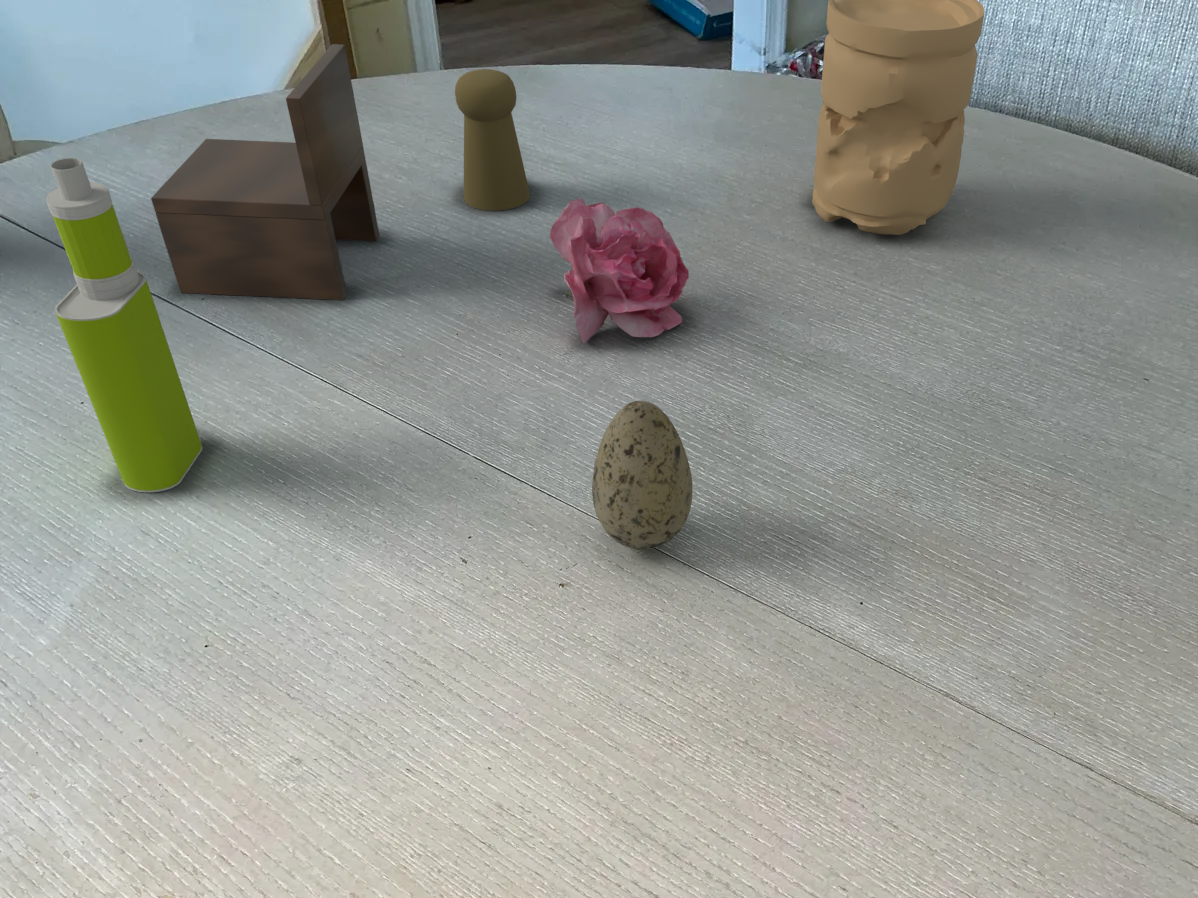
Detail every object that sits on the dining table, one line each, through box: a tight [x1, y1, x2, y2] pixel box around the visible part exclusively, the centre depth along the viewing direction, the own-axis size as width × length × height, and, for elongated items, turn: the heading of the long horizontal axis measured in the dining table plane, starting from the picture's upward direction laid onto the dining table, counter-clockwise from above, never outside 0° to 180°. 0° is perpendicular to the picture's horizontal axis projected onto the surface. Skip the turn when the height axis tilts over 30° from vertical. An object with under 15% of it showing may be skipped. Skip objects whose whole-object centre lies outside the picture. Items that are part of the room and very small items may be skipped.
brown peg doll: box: [454, 68, 531, 212], centre depth 104 cm, size 6×6×11 cm
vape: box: [45, 157, 203, 493], centre depth 70 cm, size 4×6×20 cm, turn 176°
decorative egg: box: [591, 400, 693, 550], centre depth 69 cm, size 6×6×10 cm
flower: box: [549, 197, 690, 344], centre depth 90 cm, size 11×10×10 cm
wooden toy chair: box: [150, 43, 380, 301], centre depth 92 cm, size 13×11×16 cm
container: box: [811, 0, 985, 236], centre depth 101 cm, size 13×13×18 cm
